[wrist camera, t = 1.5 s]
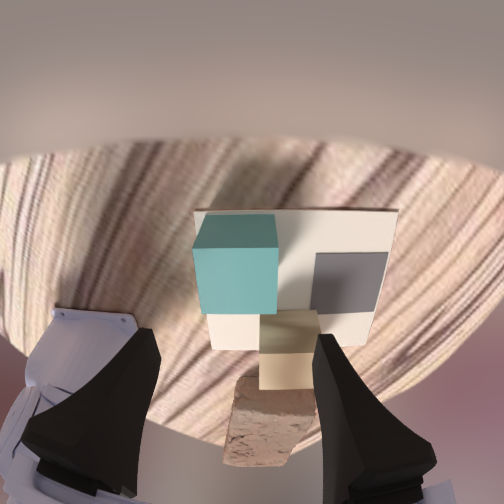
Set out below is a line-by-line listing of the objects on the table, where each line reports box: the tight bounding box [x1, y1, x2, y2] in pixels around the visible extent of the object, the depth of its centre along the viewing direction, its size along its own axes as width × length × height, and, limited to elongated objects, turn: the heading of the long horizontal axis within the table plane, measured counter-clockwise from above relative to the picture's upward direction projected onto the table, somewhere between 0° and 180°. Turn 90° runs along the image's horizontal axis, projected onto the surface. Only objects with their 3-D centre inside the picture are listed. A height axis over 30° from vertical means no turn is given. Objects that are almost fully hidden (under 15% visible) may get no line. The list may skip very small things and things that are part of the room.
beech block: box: [259, 310, 322, 390], centre depth 22 cm, size 4×4×4 cm
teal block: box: [192, 214, 279, 314], centre depth 19 cm, size 4×4×4 cm
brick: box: [223, 377, 316, 467], centre depth 31 cm, size 16×8×5 cm, turn 172°
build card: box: [194, 209, 398, 350], centre depth 23 cm, size 14×13×1 cm
